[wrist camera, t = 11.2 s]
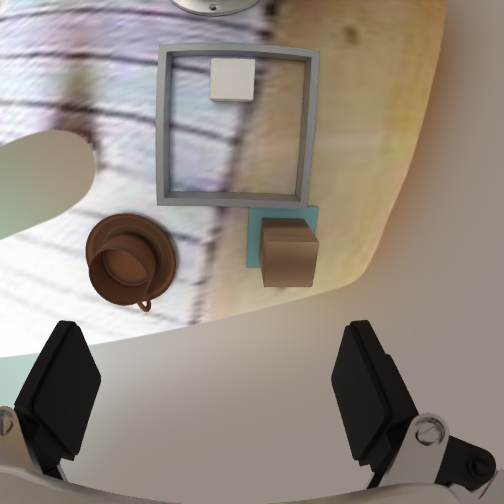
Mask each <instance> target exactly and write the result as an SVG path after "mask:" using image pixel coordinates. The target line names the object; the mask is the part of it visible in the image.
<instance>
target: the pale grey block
mask: <svg viewBox="0 0 504 504" xmlns="http://www.w3.org/2000/svg"><path fill="white" fill-rule="evenodd" d="M254 73H255V60H254V59H225V58H211V76H210V98H209V99H211V100H212V101H236V102H251V101H252V100H253V92H254Z"/></svg>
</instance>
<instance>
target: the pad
mask: <svg viewBox="0 0 504 504" xmlns="http://www.w3.org/2000/svg"><path fill="white" fill-rule="evenodd" d="M318 209H319V207H318V206H307V210H305V209H284V208H260V207H249V223H248V243H247V263H246V267H247V268H261V265H260V259H259V249H260V232H261V217H270V218H299V219H305V221H306V223H307V224H308V226H309V227H310V229H311V230H312V232H313V234H314V235H315V232H316V224H317V217H318Z"/></svg>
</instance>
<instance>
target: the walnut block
mask: <svg viewBox="0 0 504 504" xmlns="http://www.w3.org/2000/svg"><path fill="white" fill-rule="evenodd" d="M318 246H319V242H318V240H317V239H316V237H315V235H314V234H313V232H312V230H311V229H310V227H309V226H308V224H307V223H306V221H305V219H299V218H270V217H261V232H260V249H259V259H260V265H261V271H262V277H263V283H264V287H312V286H313V279H314V273H315V266H316V260H317V253H318Z"/></svg>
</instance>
